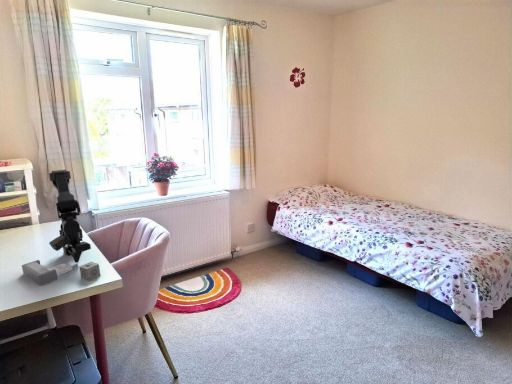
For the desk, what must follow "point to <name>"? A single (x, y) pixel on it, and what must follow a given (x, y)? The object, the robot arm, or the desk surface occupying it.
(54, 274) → the dock
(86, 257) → the desk surface
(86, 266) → the dice cube
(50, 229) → the desk surface
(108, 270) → the desk surface
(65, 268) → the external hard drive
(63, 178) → the robot arm
